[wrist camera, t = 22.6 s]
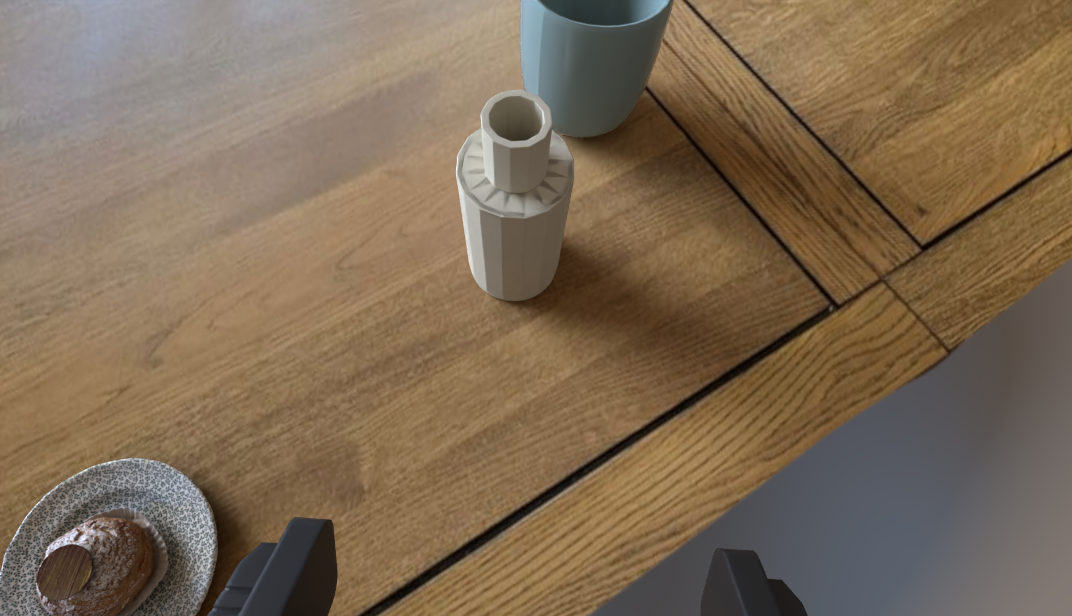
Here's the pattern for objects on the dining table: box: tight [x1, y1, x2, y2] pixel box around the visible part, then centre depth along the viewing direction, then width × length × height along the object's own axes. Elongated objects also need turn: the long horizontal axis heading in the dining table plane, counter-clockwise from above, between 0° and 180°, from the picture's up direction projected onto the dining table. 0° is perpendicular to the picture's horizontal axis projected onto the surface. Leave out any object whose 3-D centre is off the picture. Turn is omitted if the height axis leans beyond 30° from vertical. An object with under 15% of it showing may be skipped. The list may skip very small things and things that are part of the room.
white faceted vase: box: [456, 90, 574, 301], centre depth 36 cm, size 6×6×16 cm
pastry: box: [0, 458, 218, 616], centre depth 33 cm, size 12×12×5 cm
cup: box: [520, 0, 674, 138], centre depth 42 cm, size 10×10×13 cm
